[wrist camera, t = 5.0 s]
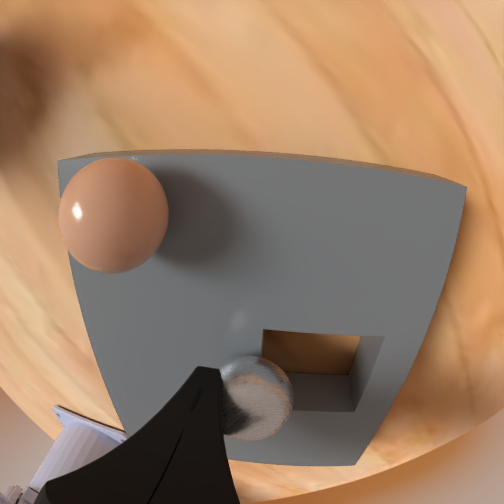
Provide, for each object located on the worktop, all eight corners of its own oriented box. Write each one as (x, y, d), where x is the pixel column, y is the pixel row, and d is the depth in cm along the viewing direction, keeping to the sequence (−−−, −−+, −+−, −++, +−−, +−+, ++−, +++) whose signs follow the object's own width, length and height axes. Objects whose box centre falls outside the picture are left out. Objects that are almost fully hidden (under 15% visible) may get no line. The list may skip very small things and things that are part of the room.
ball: (185, 252, 10) (144, 303, 7) (103, 244, 10) (48, 285, 7) (184, 151, 8) (132, 163, 5) (96, 154, 9) (29, 170, 6)
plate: (351, 434, 16) (354, 465, 14) (140, 408, 17) (127, 435, 15) (435, 174, 10) (467, 186, 8) (94, 153, 11) (57, 161, 9)
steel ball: (215, 461, 9) (201, 395, 12) (299, 442, 10) (274, 382, 12) (208, 422, 7) (192, 344, 10) (315, 398, 8) (280, 330, 11)
